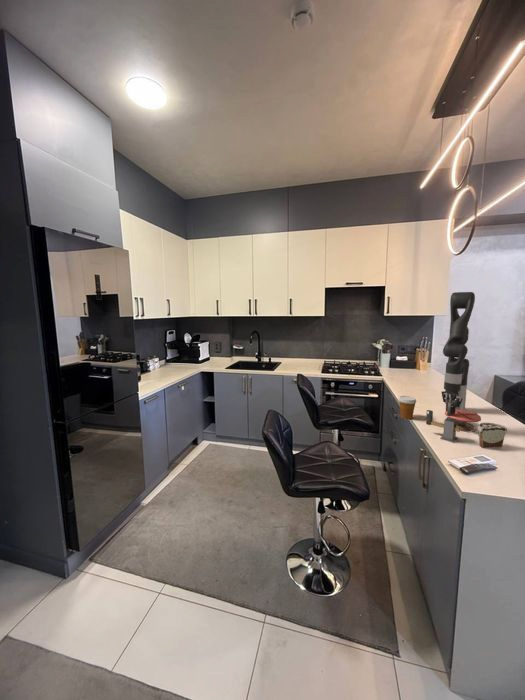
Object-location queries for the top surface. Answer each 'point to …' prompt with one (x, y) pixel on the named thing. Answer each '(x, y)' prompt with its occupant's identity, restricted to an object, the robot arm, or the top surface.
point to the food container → (491, 435)
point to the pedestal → (465, 426)
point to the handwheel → (462, 415)
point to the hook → (430, 422)
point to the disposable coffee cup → (407, 406)
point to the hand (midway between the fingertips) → (450, 412)
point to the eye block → (449, 430)
